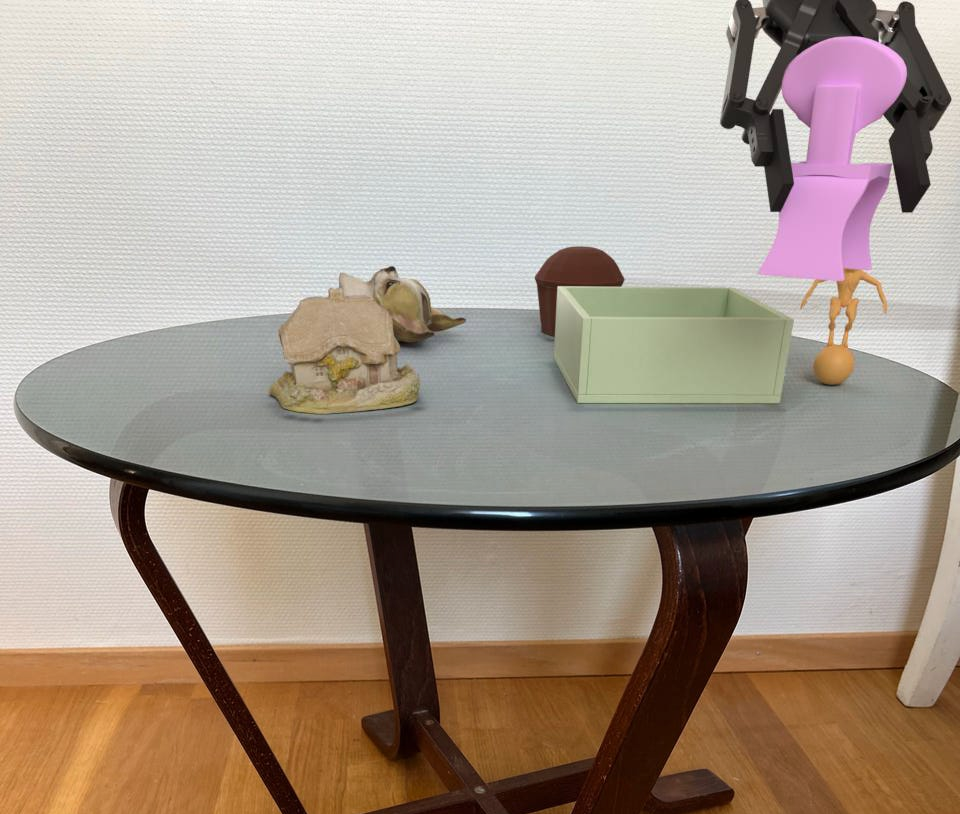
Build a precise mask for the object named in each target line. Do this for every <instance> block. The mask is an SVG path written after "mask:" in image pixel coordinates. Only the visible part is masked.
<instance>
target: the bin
mask: <svg viewBox="0 0 960 814" xmlns="http://www.w3.org/2000/svg"><path fill="white" fill-rule="evenodd" d="M794 322H795V319H794V318H792V317H790V316H788V315H787V314H785V313H783V312H781V311H779V310H777V309H776V308H774V307H772V306H769V305H767V304H766V303H764V302H762V301H760V300H758V299H756V298H755V297H753V296H751V295H749V294H747V293H745V292H743V291H741V290H739V289H737V288H736V287H721V286H720V287H719V286H718V287H714V286H713V287H711V286H710V287H709V286H707V287H706V286H705V287H704V286H699V287H698V286H621V287H592V286H565V287H564V286H558V287H557V306H556V326H555V336H554V346H553V347H554V349H553V360H554V361H555V363H556V365H557V368H558V370H559V371H560V373H561V375H562V376H563V377H562V378H564V380H565V382H566V384H567V386H568V388H569V389H570V391H571V393H572V395H573V397H574V399H575V401H576V402H577V404H766V405H767V404H769V405H770V404H771V405H772V404H781V401H782V400H781V399H782V394H783V393H782V392H783V389H784V382H785V376H786V371H787V370H786V369H787V363H788V357H789V352H790V345H791V340H792V334H793V328H794Z"/></svg>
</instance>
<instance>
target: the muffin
mask: <svg viewBox="0 0 960 814" xmlns="http://www.w3.org/2000/svg"><path fill="white" fill-rule="evenodd" d="M534 281H535V284H536V289H537V290H536V291H537V299H538V309H539V320H540V329H541V333H543V334H547V335H549V336H551V337H555V326H556V306H557V287H558V286H564V287H565V286H592V287H623V285H624V283H625V276H624V275H623V273H622V271H621V269H620V267H619V265H618V264H617V262H616V261H615V259H614V258H613V257H612V256H611V255H609V254H608V253H607V252H606V251H604V250H602V249H599V248H597V247H593V246H583V245H581V246H580V245H579V246H577V245H576V246H575V245H574V246H568V247H565V248H561V249H559V250H558V251H556V252H554V253H553V254H551V255H550V256H549V257H548V258H547V259H546V260H545V261H544V262H543V264H542V265H541V267H540V268H539V270H538V271H537V272H536V274H535V275H534Z"/></svg>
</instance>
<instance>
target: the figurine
mask: <svg viewBox="0 0 960 814" xmlns="http://www.w3.org/2000/svg"><path fill="white" fill-rule="evenodd" d="M843 270H844V277H845V280H844V281H836V287H837V292H838V294H837V297H836V296H832V297H831V298H830V299H829V311H828V317H829V321H830V322H828V325H827V327H828V329H829V334H828V338H827V343H826V345H825V346H824V347H823V348H822V349H821V350H819V352H818V353H817V354H816V355H815V358H814V360H813V363H812V364H813V365H812V370H813V373H814V376H815V377H816V379H817V380H818V381H820V383H822V384H824V385H829V386H834V385H839V384H842V383H843V382H845V381H846V380H848V379H849V378H850V376H851V375H852V374H853V372H854V369H855V356H854V355H853V352H852V350H850V348H849V344H848V341H849V340H848V339H849V332H850V331H851V330H852V329H853V323H854V321H855V320H856V317H857V314H858V313H857V308H858V305H859V302H860V300H859V298H858V297H854V298H853V295H854V293H855V291H856V288H857V287H858V285H859V284H860V281H864V282H866V283H868V284H870V285H872V286H874V287H876V291H877V293H878V297H879V299H880V301H881V303H882V306H881V309H883V314H884V315H887V313H888V303H887V300H886V295H885V294H884V291H883V287H882V283H881V282H880V281H879V280H878V279H876V278H875V277H873V276H872V275H869V274H868V272H866V271H865V270H858V269H846V268H843ZM827 281H828V280H817V279H814V280H813V282H812V284H811V286H810V288H809V289H808V290H807V291H806V293H805V295H804V297H803V298H802V301H801V303H800V310H803V309H805V305H807V304H808V300H807V299H809V298H810V297H811V296H812V294H813V293H814V291H815V289H816V288H817V287H818V284H820V283H824V282H827ZM844 308H845V316H846V317H847V319H848V322H847V323H845V325H844V332H843V335H842V341H841V343H840V344H836V343H834V337H835V328H836V322H835V320H836V319H837V317H838V316H839V315H840V314H841V311H842V309H844Z"/></svg>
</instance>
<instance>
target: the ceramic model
mask: <svg viewBox="0 0 960 814" xmlns="http://www.w3.org/2000/svg"><path fill="white" fill-rule="evenodd" d="M327 291H328V296H310V297H309V296H307V297H305V298H303V299H301V300H300V301H299V303H298V305H297V307H296V308H295V309H294V311H292V313H291V315H290V316H289V317H288V318H287V320H286V321H285V322H284V323H283V324H281V325H280V328H278V329H277V333H278V337H279V341H280V345H281V348H282V356H283V359H284V361H285V362H286V363H287V364H288V365H290V370H291V371H287V370H286V371H284V373H283V374H282V375H281V376H280V377H279V378H277V380H276V381H275V382H273V384H272V385H270V386H269V390H268V394H270V395H271V396H273V397H274V398H275V399H276V400H277V401H278V402H279V404H280V406H281V408H283V409H285V410H288V411H292V412H296V413H297V412H298V413H304V414H305V413H307V414H316V415H328V414H329V415H330V414H342V413H352V412H355V413H356V412H365V411H372V410H383V409H384V410H385V409H389V408H396V407H403V406H407V405H410V404H413V403H415V402H417V401H418V396H419V394H420V392H419V391H420V385H421V382H420V381H421V380H420V378H419V376H420V375H419V373H417V372H416V371H415V369H414V368H413V367H412V366H411V365H409V364H404V365H403V366H399V367H398V354H400V352H401V346H400V343H399V341H397V340H396V339H395V337H394V333H393V322H392V318H391V316H390V315H389V313H388V311H387V310H385V309H383V308H382V307H381V306H379V305H378V304H377V303H376V301H375V300H374V298H372V297H368V296H365V295H361V296H360V295H352V296H347V297H345V296H344V294H343V288H342V287H339V286H338V287H337V288H336V287H335V288H333V287H329V288H328V290H327Z"/></svg>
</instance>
